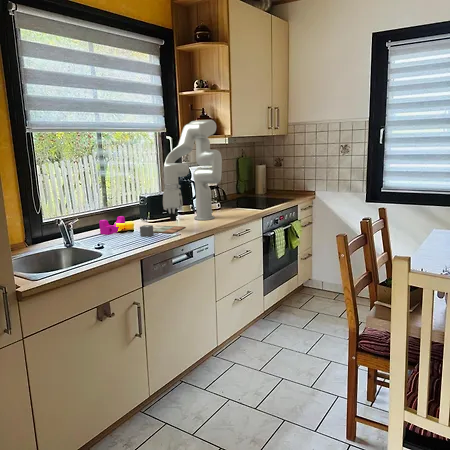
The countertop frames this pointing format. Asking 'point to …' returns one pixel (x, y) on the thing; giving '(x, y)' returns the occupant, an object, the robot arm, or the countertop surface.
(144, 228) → the die
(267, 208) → the countertop surface
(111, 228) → the toy block
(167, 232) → the striped panel
